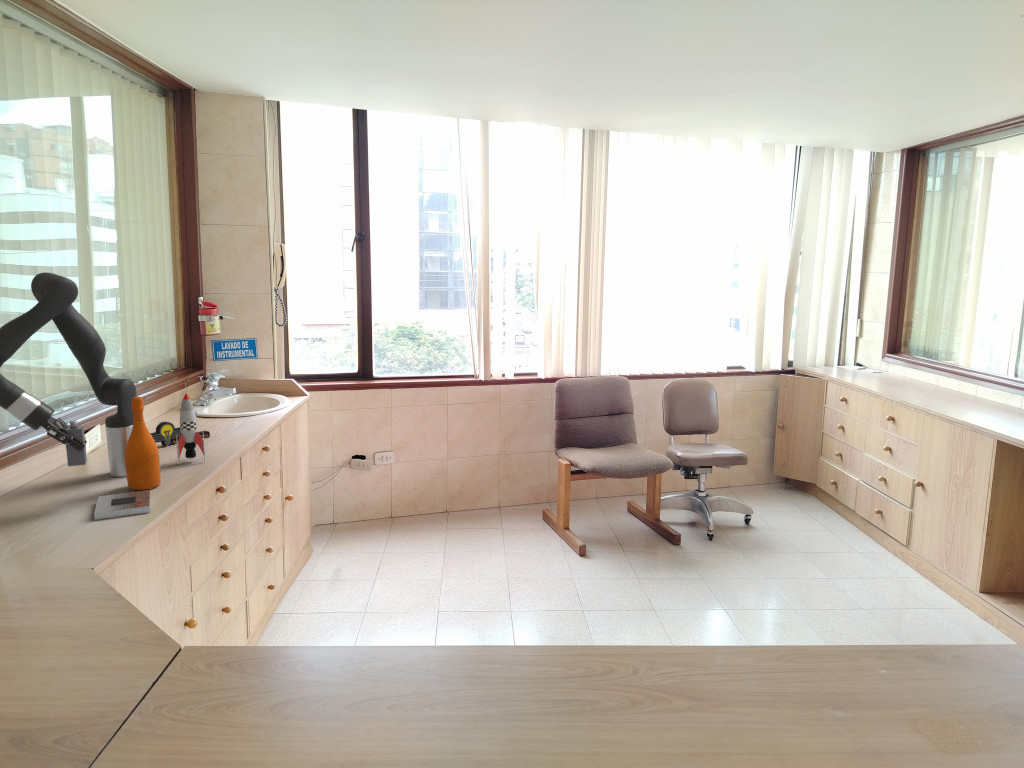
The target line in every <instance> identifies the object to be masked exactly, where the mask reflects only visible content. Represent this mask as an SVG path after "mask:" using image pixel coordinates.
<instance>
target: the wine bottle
mask: <svg viewBox="0 0 1024 768" xmlns="http://www.w3.org/2000/svg"><path fill="white" fill-rule="evenodd" d="M131 402H132V411H133V412H134V423H133V429H132V432H131V434H130V437H129V439H128V442H127V445H126V449H125V466H126V475H127V476H126V482H127V486H128V488H129V489H130V490H132V491H146V490H152V489H154V488H155V489H156V487H158V486H160V484H161V476H162V475H161V461H160V452H159V449H158V445H157V443H155V441H154V439H153V437H152V436H151V434H150V433H151V432H150V431H149V429H148V427H147V425H146V422H145V419H144V410H145V405H144V398H143V397H141V396H137V397H133V398H132V399H131Z"/></svg>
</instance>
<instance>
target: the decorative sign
mask: <svg viewBox="0 0 1024 768" xmlns="http://www.w3.org/2000/svg"><path fill="white" fill-rule="evenodd" d="M197 433H199V434H200V436H201V438H202V440H203V434H204V440H205V439H208V438H210V437H211V432H210V431H209V430H208V431H207V430H201V431H198V432H197ZM150 434H151V436H152V437H153V439H154V441H155V443H156V444H157V443H160V444H161V445H162V446H163V447H165V446H169V447H171V446H170V445H174V446H176V445H175V444H177V443H176V441H177V439H178V441H179V438H180V436H181V435H182V434H181V431H180V426H179V427H176V426H175V424H174V423H172V422H169V421H161V422H159V423H158V424H157V426H156V427H155V432H150ZM176 434H177V437H176Z"/></svg>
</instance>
